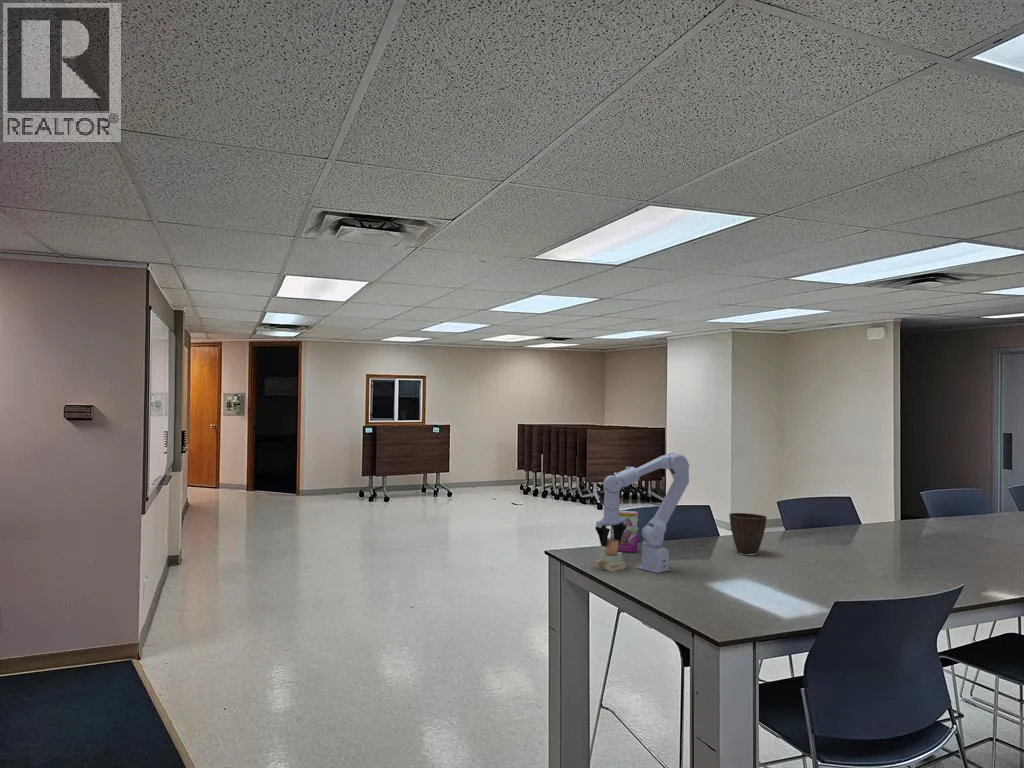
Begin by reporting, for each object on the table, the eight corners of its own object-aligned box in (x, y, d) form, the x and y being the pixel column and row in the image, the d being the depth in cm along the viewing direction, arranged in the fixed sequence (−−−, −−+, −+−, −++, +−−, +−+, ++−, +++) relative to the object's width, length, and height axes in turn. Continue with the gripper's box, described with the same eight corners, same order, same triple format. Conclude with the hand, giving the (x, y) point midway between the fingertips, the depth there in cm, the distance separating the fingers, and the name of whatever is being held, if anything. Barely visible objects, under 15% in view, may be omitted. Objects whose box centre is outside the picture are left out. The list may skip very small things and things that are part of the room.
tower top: (621, 561, 251) (622, 554, 251) (611, 563, 246) (612, 557, 247) (609, 558, 255) (609, 551, 255) (599, 560, 251) (599, 553, 251)
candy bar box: (610, 551, 279) (611, 511, 280) (609, 549, 284) (611, 509, 285) (637, 553, 278) (639, 513, 279) (636, 550, 283) (637, 511, 284)
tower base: (625, 570, 250) (625, 562, 250) (611, 573, 245) (612, 564, 245) (608, 565, 256) (609, 557, 256) (594, 568, 251) (595, 560, 251)
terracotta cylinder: (619, 554, 250) (621, 541, 250) (610, 556, 248) (612, 543, 247) (610, 550, 254) (612, 537, 253) (601, 551, 251) (603, 538, 251)
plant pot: (721, 552, 286) (722, 514, 286) (739, 548, 296) (740, 511, 296) (754, 559, 275) (755, 519, 275) (772, 555, 285) (773, 516, 285)
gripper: (615, 505, 259) (614, 541, 259) (590, 508, 250) (589, 545, 249) (630, 508, 254) (629, 544, 253) (605, 511, 244) (603, 548, 244)
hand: (610, 545), depth 251 cm, fingers open, 7 cm apart
